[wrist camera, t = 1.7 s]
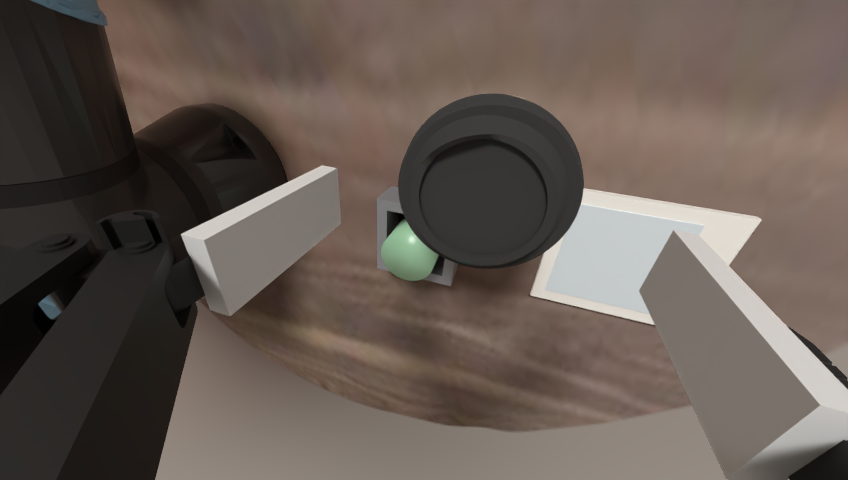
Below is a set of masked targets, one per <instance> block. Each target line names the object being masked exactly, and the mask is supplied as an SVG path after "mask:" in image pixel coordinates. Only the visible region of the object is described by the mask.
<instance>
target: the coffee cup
mask: <svg viewBox="0 0 848 480" xmlns="http://www.w3.org/2000/svg"><path fill="white" fill-rule="evenodd" d="M583 188H584V179H583V170H582V165H581V160H580V156H579V153H578V150H577V148H576V145H575V143H574V141H573V139H572V138H571V136H570V134H569V133H568V132H567V130H566V129H565V128H564V126H563V125H562V124H561V123H560V122H559V121H558V120H557V119H556V118H555V117H554V116H553V115H552V114H550V113H549V112H548V111H546V110H545V109H543V108H542V107H540V106H538V105H536V104H535V103H533V102H531V101H529V100H527V99H524V98H522V97H518V96H513V95H505V94H480V95H474V96H470V97H466V98H463V99H460V100H457V101H455V102H453V103H451V104H449V105H447V106H445V107H443V108H442V109H440V110H439V111H437V112H436V113H435V114H433V115H432V116H431V117H430V118H429V119H428V120H427V121H426V122H425V123H424V124H423V125H422V126H421V127H420V129H419V130H418V131H417V133H416V134H415V136H414V137H413V139H412V141H411V143H410V145H409V147H408V150H407V152H406V154H405V157H404V159H403V162H402V165H401V169H400V173H399V181H398V192H399V200H400V205H401V209H402V212H403V214H404V217H405V219H406V221H407V223H408V225H409V226H410V228H411V230H412V231H413V232H414V234H415V235H416V236H417V237H418V238H419V240H420V241H421V242H422V243H423V244H425V245H426V246H427V247H428V248H429V249H431V250H432V251H433V252H435V253H436V254H438V255H440V256H441V257H443V258H445V259H447V260H450V261H452V262H455V263H457V264H461V265H464V266H469V267H474V268H485V269H493V268H504V267H510V266H514V265H518V264H521V263H524V262H527V261H529V260H531V259H534V258H536V257H537V256H539V255H541V254H543V253H544V252H546V251H547V250H549V249H550V248H551V247H552V246H554V245H555V244H556V243H557V242H558V241H559V240H560V239H561V238H562V237H563V236H564V235H565V233H566V232H567V231H568V230H569V228H570V227H571V225H572V223H573V222H574V220H575V218H576V216H577V214H578V211H579V208H580V205H581V202H582V197H583Z"/></svg>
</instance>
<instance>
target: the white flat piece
mask: <svg viewBox="0 0 848 480" xmlns="http://www.w3.org/2000/svg"><path fill="white" fill-rule="evenodd" d="M760 222H761V219H760V218H758V217H756V216H750V215H744V214H738V213H732V212H726V211H720V210H714V209H708V208H702V207H695V206H689V205H683V204H677V203H671V202H665V201H659V200H653V199H647V198H641V197H634V196H628V195H622V194H616V193H610V192H604V191H598V190H592V189H586V188H583V197H582V202H581V205H580V208H579V211H578V214H577V216H576V218H575V220H574V222H573V223H572V225H571V227H570V228H569V230H568V231H567V232H566V233H565V235H564V236H563V237H562V238H561V239H560V240H559V241H558V242H557V243H556V244H555V245H554V246H552V247H551V248H550V249H549V250H547V251H546V252H544V253H543V254H542V257H541V260H540V263H539V266H538V269H537V272H536V275H535V278H534V281H533V284H532V287H531V290H530V295H531V296H535V297H539V298H543V299H547V300H552V301H556V302H560V303H564V304H568V305H573V306H577V307H581V308H585V309H589V310H594V311H598V312H602V313H606V314H610V315H614V316H619V317H623V318H627V319H631V320H635V321H640V322H644V323H648V324H652V325H655V324H654V322H653V320H652V318H651V316H650V313H649V311H648V309H647V307H646V305H645V303H644V301H643V298H642V296H641V294H640V292H639V290H640V288H641V286H642V284H643V283H644V281H645V279H646V277H647V276H648V274H649V272H650V270H651V268H652V267H653V265H654V263H655V261H656V260H657V258H658V256H659V254H660V253H661V251H662V249H663V247H664V246H665V244H666V242H667V240H668V239H669V237H670V235H671V233H672V231H673V230H676V231H682V232H687V233H692V234H698V235H699V236H700V237H701V238H702V239H703V240H704V241H705V242H706V243H707V244H708V245H709V246H710V247H711V248H712V249H713V250H714V251H715V252H716V253H717V254H718V255H719V256H720V258H721V259H722V260H723V261H724V262H725V263H726V264H727V265H728V266H729V264H730V263H731V262H732V260H733V259H734V257H735V256H736V255H737V253H738V252H739V251H740V249H741V248H742V246H743V245H744V244H745V242H746V241H747V240H748V238H749V237H750V235H751V234H752V233H753V231H754V230H755V229H756V227H757V226H758V224H759V223H760Z"/></svg>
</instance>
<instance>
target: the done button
mask: <svg viewBox="0 0 848 480" xmlns="http://www.w3.org/2000/svg"><path fill="white" fill-rule="evenodd" d="M381 256H382V260H383V262H384V264H385V266H386V267H387V268H388V270H389V271H390V272H391V273H393V274H394V275H396V276H397V277H399V278H401V279H404V280H409V281H417V280H421V279H424V278H425V277H427V276H428V275H429V274H430V273H431V271H432V269H433V267H434V265H435V263H436V261H437V259H438V256H439V255H438V254H436V253H435V252H433V251H432V250H431V249H429V248H428V247H427V246H426V245H425V244H423V243H422V242H421V241H420V240H419V238H418V237H417V236H416V235H415V234H414V232H413V231H412V230H411V228H410V226H409V225H408V223H407V221H406V219H405V218H404V219H402V220H401V221H400V223H399V224H398V225H397V226H396V228H395V229H394V230H393V231H392V233H391V234H390V235H389V236H388V238H387V239H386V240H385V241H384V243H383V245H382V248H381Z"/></svg>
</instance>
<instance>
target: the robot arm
mask: <svg viewBox="0 0 848 480" xmlns="http://www.w3.org/2000/svg"><path fill="white" fill-rule="evenodd" d="M107 25H108V24H107V20H106V16H105V15H104V14H103V12H102V11H101V10H100V9H99V7H98V4H97V1H96V0H0V480H155V477H156V473H157V469H158V466H159V462H160V458H161V454H162V450H163V446H164V442H165V438H166V434H167V430H168V426H169V422H170V418H171V414H172V411H173V407H174V403H175V399H176V395H177V391H178V387H179V383H180V379H181V375H182V371H183V368H184V364H185V360H186V356H187V351H188V348H189V344H190V340H191V336H192V332H193V328H194V324H195V320H196V317H197V312H198V311H197V306H196V303H195V302H196V301H197V300H199V299H200V298H201V297H203V296H205V298H206V301H207V304H208V306H209V309H210V310H211V311H214V312H217V313H220V314H223V315H226V316H231V315H233V314H234V313H235V312H236V311H237V310H239V309H240V308H241V307H242V306H243V305H245V304H246V303H247V302H248V301H249V300H251V299H252V298H253V297H254V296H255V295H257V294H258V293H259V292H260V291H261V290H263V289H264V288H265V287H266V286H267V285H268V284H270V283H271V282H272V281H273V280H274V279H276V278H277V277H278V276H279V275H280V274H282V273H283V272H284V271H285V270H286V269H288V268H289V267H290V266H291V265H292V264H294V263H295V262H296V261H297V260H298V259H300V258H301V257H302V256H303V255H304V254H305V253H307V252H308V251H309V250H310V249H311V248H313V247H314V246H315V245H316V244H317V243H319V242H320V241H321V240H322V239H323V238H325V237H326V236H327V235H328V234H329V233H331V232H332V231H333V230H334V229H335V228H337V227H338V226H339V225H340V224H341V213H340V199H339V185H338V171H337V168H333V167H327V166H320V167H318V168H316V169H314V170H312V171H310V172H308V173H305V174H303V175H301V176H299V177H297V178H295V179H293V180H291V181H289V182H286V177H285V174H284V171H283V168H282V165H281V163H280V161H279V159H278V157H277V155H276V153H275V151H274V150H273V148H272V146H271V145H270V143H269V142H268V141H267V139H266V138H265V137H264V136H263V134H262V133H261V132H260V131H259V130H258V129H257V128H256V127H255V126H254V125H253V124H252V123H251V122H249V121H248V120H247V119H246V118H244V117H243V116H241V115H240V114H238V113H237V112H235V111H233V110H231V109H229V108H226V107H224V106H220V105H216V104H199V105H191V106H185V107H181V108H178V109H175V110H173V111H172V112H170V113H168V114H167V115H165V116H163V117H162V118H160V119H158V120H157V121H155V122H154V123H152V124H150V125H149V126H147V127H145V128H144V129H142V130H140V131H139V132H137V133H135V134H134V135H133V132H132V128H131V125H130V121H129V117H128V114H127V110H126V106H125V102H124V99H123V95H122V91H121V87H120V84H119V80H118V76H117V73H116V69H115V65H114V61H113V58H112V54H111V50H110V46H109V43H108V39H107V35H106V32H105V28H104V26H107ZM639 292H640V294H641V296H642V298H643V301H644V303H645V305H646V307H647V309H648V311H649V313H650V316H651V318H652V320H653V322H654V324H655V326H656V329H657V331H658V333H659V335H660V337H661V339H662V341H663V344H664V346H665V348H666V350H667V352H668V354H669V357H670V359H671V361H672V363H673V365H674V367H675V369H676V372H677V374H678V376H679V378H680V380H681V382H682V385H683V387H684V389H685V391H686V393H687V395H688V397H689V400H690V402H691V404H692V406H693V408H694V410H695V412H696V415H697V417H698V419H699V421H700V423H701V425H702V427H703V430H704V432H705V434H706V436H707V438H708V440H709V443H710V445H711V447H712V449H713V451H714V453H715V456H716V458H717V460H718V462H719V464H720V466H721V468H722V470H723V472H724V475H725V477H726V479H729V480H788V479H790V480H848V381H847V377H846V376H845V375H844V374H843V373H842V372H841V371H840V370H839V369H838V368H837V367H836V366H832V362H831V361H830V360H829V359H828V358H827V357H826V356H825V355H824V354H823V353H822V352H821V351H820V350H819V349H818V348H817V347H816V346H815V345H814V344H813V343H811V342H810V341H808V340H807V339H806V338H804V337H803V336H801V335H800V334H798V333H797V332H796V331H794V330H793V329H791V328H790V327H787V326H786V325H785V324H784V323H783V322H782V321H781V320H780V319H779V318H778V317H777V316H776V315H775V314H774V313H773V312H772V310H771V309H770V308H769V307H768V306H767V305H766V304H765V303H764V302H763V301H762V300H761V299H760V298H759V297H758V296H757V295H756V294H755V293H754V292H753V291H752V290H751V289H750V288H749V287H748V286H747V285H746V283H745V282H744V281H743V280H742V279H741V278H740V277H739V276H738V275H737V274H736V273H735V272H734V271H733V270H732V269H731V268H730V267H729V266H728V265H727V264H726V263H725V262H724V261H723V260H722V259H721V258H720V256H719V255H718V254H717V253H716V252H715V251H714V250H713V249H712V248H711V247H710V246H709V245H708V244H707V243H706V242H705V241H704V240H703V239H702V238H701V237H700V236H699V235H698V234H692V233H687V232H682V231H676V230H673V231H672V233H671V235H670V237H669V239H668V240H667V242H666V244H665V246H664V247H663V249H662V251H661V253H660V254H659V256H658V258H657V260H656V261H655V263H654V265H653V267H652V268H651V270H650V272H649V274H648V276H647V277H646V279H645V281H644V283H643V284H642V286H641V288H640V290H639Z"/></svg>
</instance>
